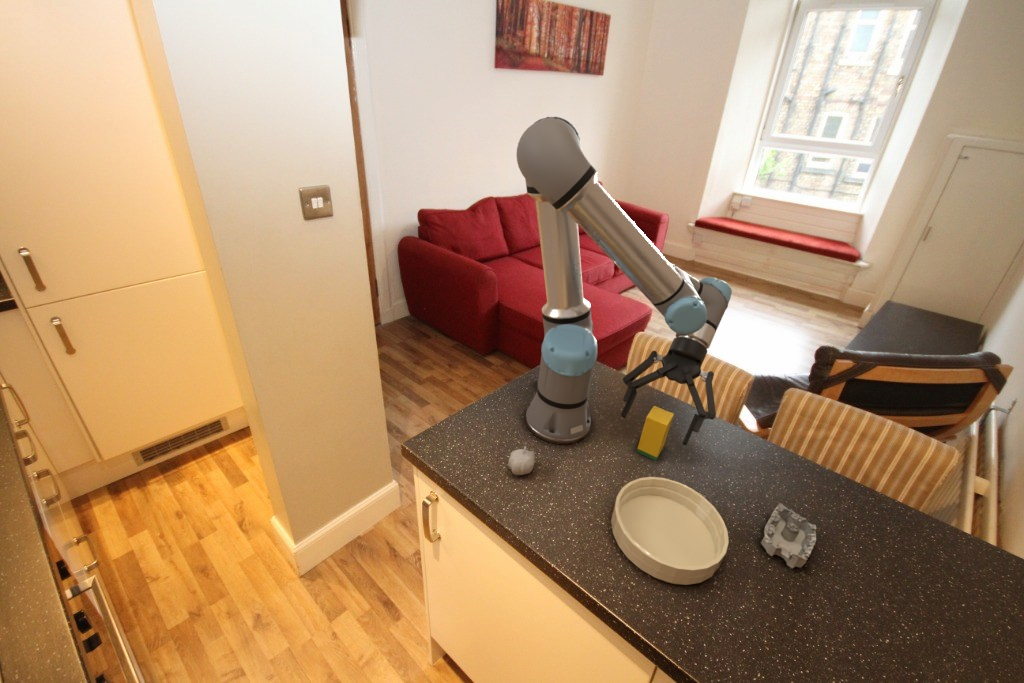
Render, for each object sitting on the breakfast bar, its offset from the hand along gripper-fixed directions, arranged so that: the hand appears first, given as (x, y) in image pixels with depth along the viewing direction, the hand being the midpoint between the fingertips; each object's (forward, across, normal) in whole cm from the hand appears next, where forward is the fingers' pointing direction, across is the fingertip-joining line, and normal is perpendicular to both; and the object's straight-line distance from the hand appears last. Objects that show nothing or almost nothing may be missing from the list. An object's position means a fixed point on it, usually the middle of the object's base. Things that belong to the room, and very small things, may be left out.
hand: (652, 430), depth 95 cm
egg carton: (+9, -28, -1) cm, 30 cm away
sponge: (+4, 0, -6) cm, 7 cm away
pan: (+18, -10, +8) cm, 22 cm away
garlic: (+20, +19, +10) cm, 30 cm away
